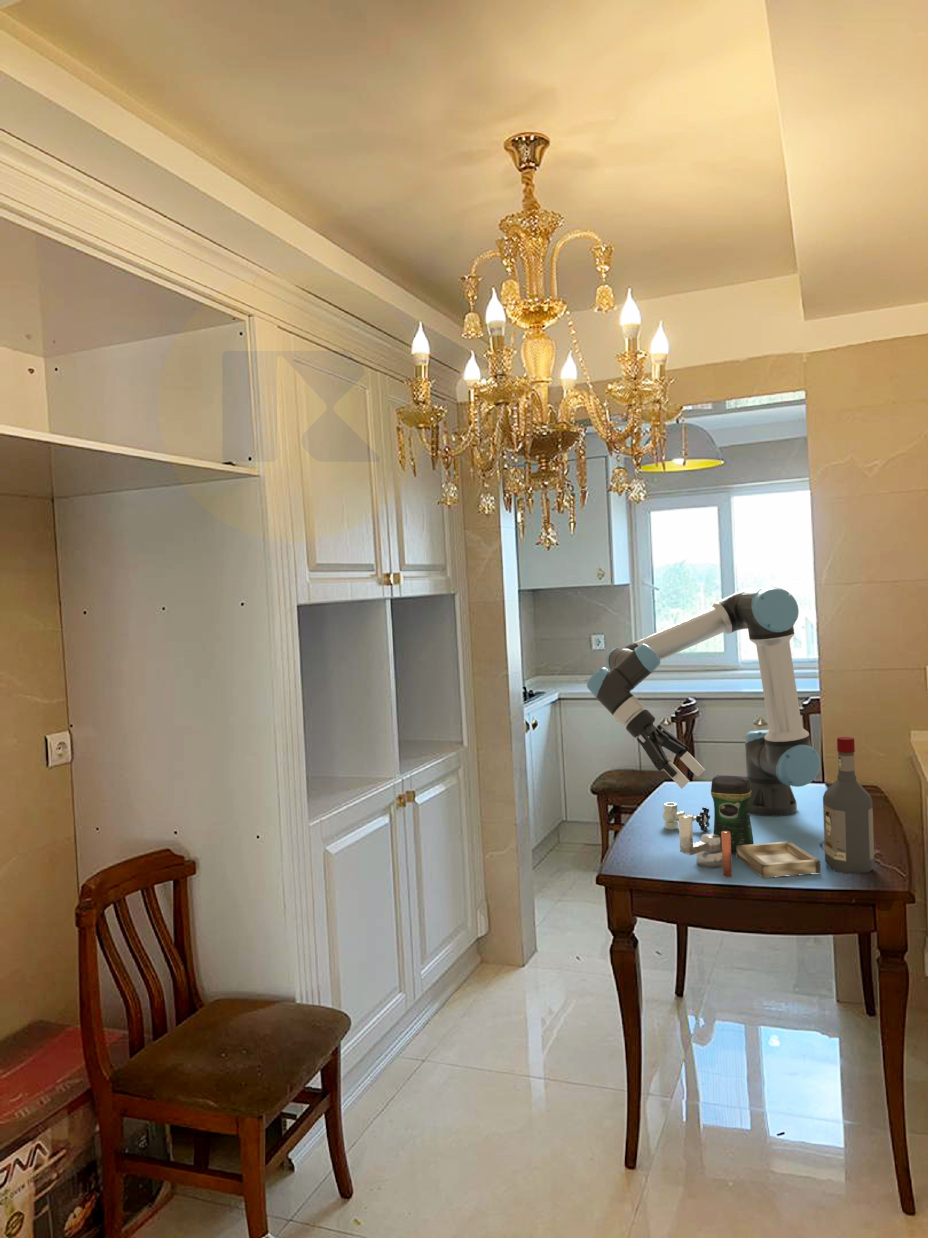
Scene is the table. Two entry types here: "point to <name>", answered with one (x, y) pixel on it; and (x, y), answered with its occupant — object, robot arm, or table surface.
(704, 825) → the valve
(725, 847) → the crank base
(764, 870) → the tray
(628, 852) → the table surface
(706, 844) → the crank
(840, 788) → the liquor
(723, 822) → the coffee jar
